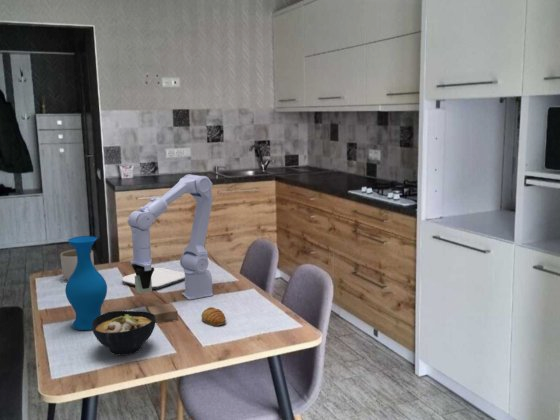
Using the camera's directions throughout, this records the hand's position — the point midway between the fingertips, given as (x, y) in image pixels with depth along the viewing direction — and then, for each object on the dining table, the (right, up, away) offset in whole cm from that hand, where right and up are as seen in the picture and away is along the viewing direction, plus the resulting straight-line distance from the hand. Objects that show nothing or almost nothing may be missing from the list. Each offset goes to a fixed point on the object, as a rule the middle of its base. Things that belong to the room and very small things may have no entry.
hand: (143, 286), depth 183 cm
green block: (0, -2, 0) cm, 2 cm away
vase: (-15, -11, -11) cm, 21 cm away
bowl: (+2, -14, -29) cm, 32 cm away
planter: (-36, -3, +38) cm, 53 cm away
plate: (-4, -3, +34) cm, 34 cm away
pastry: (+25, -10, -8) cm, 28 cm away
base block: (+8, -10, -6) cm, 14 cm away
